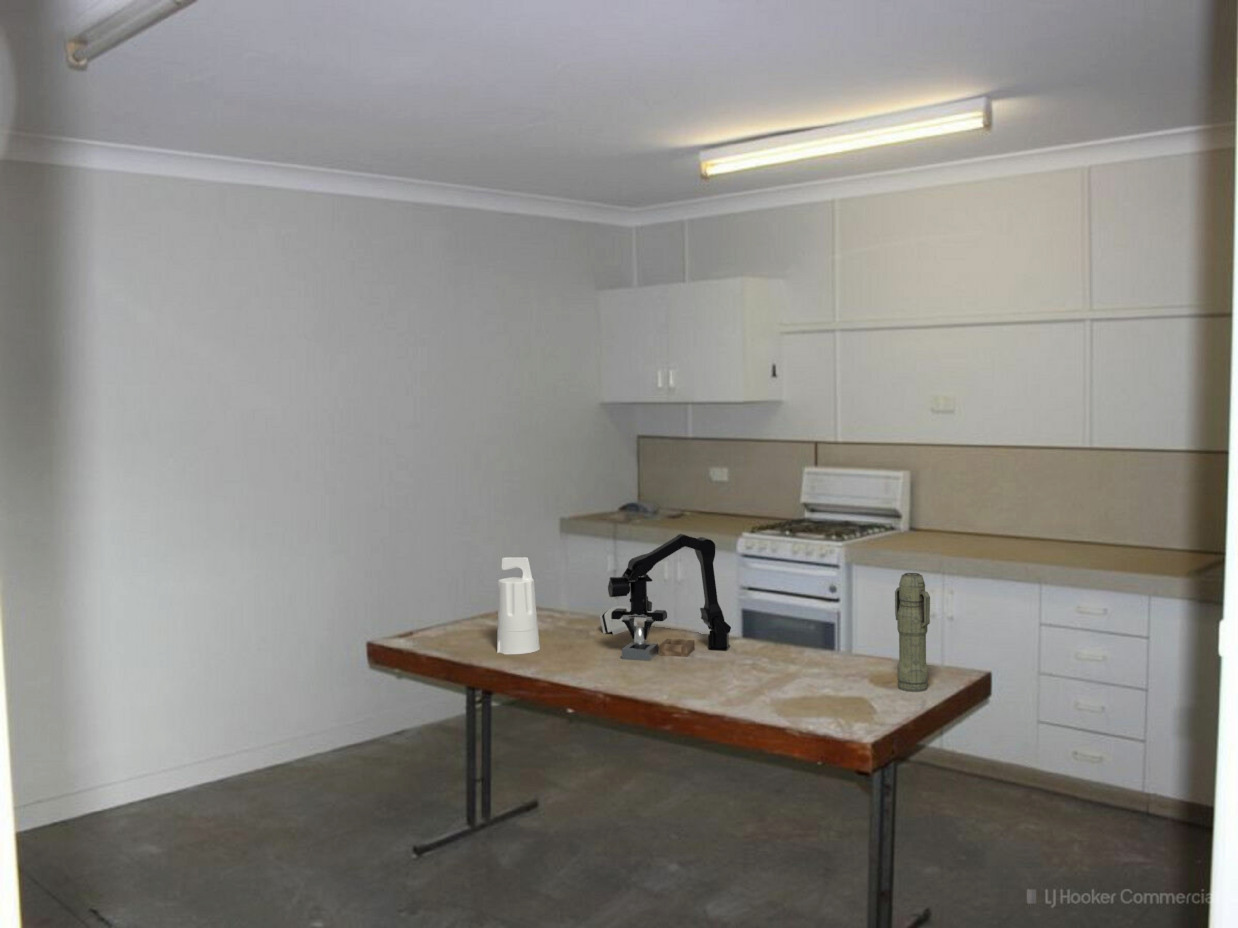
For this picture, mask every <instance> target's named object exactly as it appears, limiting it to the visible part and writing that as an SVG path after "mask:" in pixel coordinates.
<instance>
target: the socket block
mask: <svg viewBox="0 0 1238 928" xmlns="http://www.w3.org/2000/svg"><path fill="white" fill-rule="evenodd" d="M695 644H696V643H695V639H681V638H666V639H665V640H663V641H662V642H661V643H660V644H658V655H659V656H670V657H683V658H685V657H688V656H690V655H691V654H692V653H693V652H694V651H695V649H696V648H695V647H696V646H695Z"/></svg>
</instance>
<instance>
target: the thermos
mask: <svg viewBox="0 0 1238 928" xmlns="http://www.w3.org/2000/svg"><path fill="white" fill-rule="evenodd" d="M898 585H899V586H898V587H896V590H895V591H894V615H895V621H897V631H898V645H899V647H898V648H899V649H898V658H899V660H898V663H897V680H898V685H897V687H898V689H899V690H901V691H905V692H912V693H913V692H914V693H916V692H918V693H919V692H920V693H921V692H924V691H928V680H929V667H928V666H929V665H928V664H927V633H928V625H930V624H931V617H930V613H931V612H930V611H931V609H930V608H931V595H930V594H929V592H928V591H926V583H925V579H924V577H923V574H920V573H918V572H905V573H904V574H901V577H900V580H899V584H898Z"/></svg>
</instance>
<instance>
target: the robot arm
mask: <svg viewBox="0 0 1238 928" xmlns="http://www.w3.org/2000/svg"><path fill="white" fill-rule="evenodd" d="M684 547H687V548H689V549H693V550H694V553H695V555H696V558H697V560H698V562H699V564H700V571H701V572H700V573H701V580H702V587H703V588H702V589H703V597H704V604H703V605H704V606H703V607H700V608H699V610H700V614H701V616H700V619H701V620H702V621H703V623H704V624H705V625H706V626H707V628H708V630H709V634H708V635H707V644H708V645H707V647H708V650H713V651H728V650H729V648H730V647H731V645H730V637H729V636H730V632H731V629H732V627H731V626H730V625H729V624H728V623H727V622H726V621H725V617H724V614H723V610H722V608H721V606H720V604H719V599H718V595H717V593H718V592H717V586H716V585H717V583H716V577H715V567H714V561H715V557H716V543H715V542H714V541H713V540H712V539H709V538H707V537H703V536H701V537H700V536H699V537H698V538H696V537H692V536H688V535H686V534H684V533H679V534H677V535H676V536H675V537H674V538H671V539H670V540H669V541H666V542H665V543H663V544H662V545H660V546H658V547H657V548H655V549H653V550H651V551H649V552H647V553H644V554H641V555H637V556H635V557H633V558H631V559H629V561H628V563H627V568H625V571H624V572H623V574H622V575H621V576H617V577H615V576H610V577H609V581H608V583H607V584H608V585H607V591H608V592H607V593H608V595H609V597H610V598H619V597H627V596H628V595H629V594H630V597H629V603H630V612H629V611H627V610H626V609H622V608H617V609H615V610H614V611H612V613H611V619H621V618H622V622H624V623H625V625H626V626H627V628H628V630H627V631H629V634H630V636H631V638H632V640H634V621H635V618H643V619H646V620H644V621H643V623H644V624H643V625H644V637H645V640H646V641H647V640H648V637H649V632H650V631H651V628H652V625H653V624H654V623H656V622H664V621H665V620H667V619H668V612H667V611H666V610H665V609H655V610H654V611H653V612H652V608H653V602H652V601H650V600H649V596H648V592H647V591H648V585H647V582H648V583H650V582H653V579H652V578H651V577H650V576H649V574H648V573H649V572H650V571H651V570H653V568H654V567H655V565H657V564H658V563H659V562H661V561H663V560H664V559H666V558H668V557H669V556H671V555H673V554H674V553H676V552H678V551H679V550H681V549H682V548H684Z"/></svg>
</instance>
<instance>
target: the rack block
mask: <svg viewBox="0 0 1238 928" xmlns="http://www.w3.org/2000/svg"><path fill="white" fill-rule="evenodd" d="M657 655H659V644H658V643H655V642H654V643H652V642H651V643H650V642H646V649H638V648H634V641H633V642H632V641H630V642H629V643H628V644H626V645H625V646H624V647H622V648H621V660H631V661H632V660H634V661H645V662H646V661H649V662H650V661H651V660H653V658H655V657H657Z"/></svg>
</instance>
